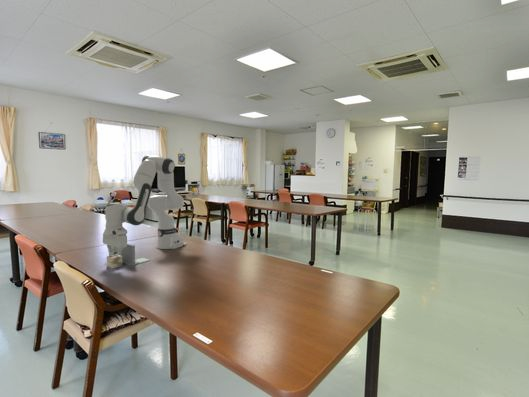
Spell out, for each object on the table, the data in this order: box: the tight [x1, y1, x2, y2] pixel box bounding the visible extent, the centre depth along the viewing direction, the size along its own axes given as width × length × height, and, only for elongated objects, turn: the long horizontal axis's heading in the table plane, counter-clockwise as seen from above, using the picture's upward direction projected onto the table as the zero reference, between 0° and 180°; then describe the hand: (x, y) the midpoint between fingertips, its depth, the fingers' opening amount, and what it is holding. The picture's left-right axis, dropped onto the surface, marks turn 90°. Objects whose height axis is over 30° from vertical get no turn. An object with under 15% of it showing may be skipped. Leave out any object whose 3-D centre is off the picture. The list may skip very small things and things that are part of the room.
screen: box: [120, 242, 139, 267], centre depth 178 cm, size 5×15×12 cm, turn 56°
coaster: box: [135, 257, 150, 264], centre depth 182 cm, size 7×7×1 cm
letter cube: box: [106, 254, 123, 269], centre depth 171 cm, size 6×6×6 cm
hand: (114, 253), depth 170 cm, fingers open, 8 cm apart
